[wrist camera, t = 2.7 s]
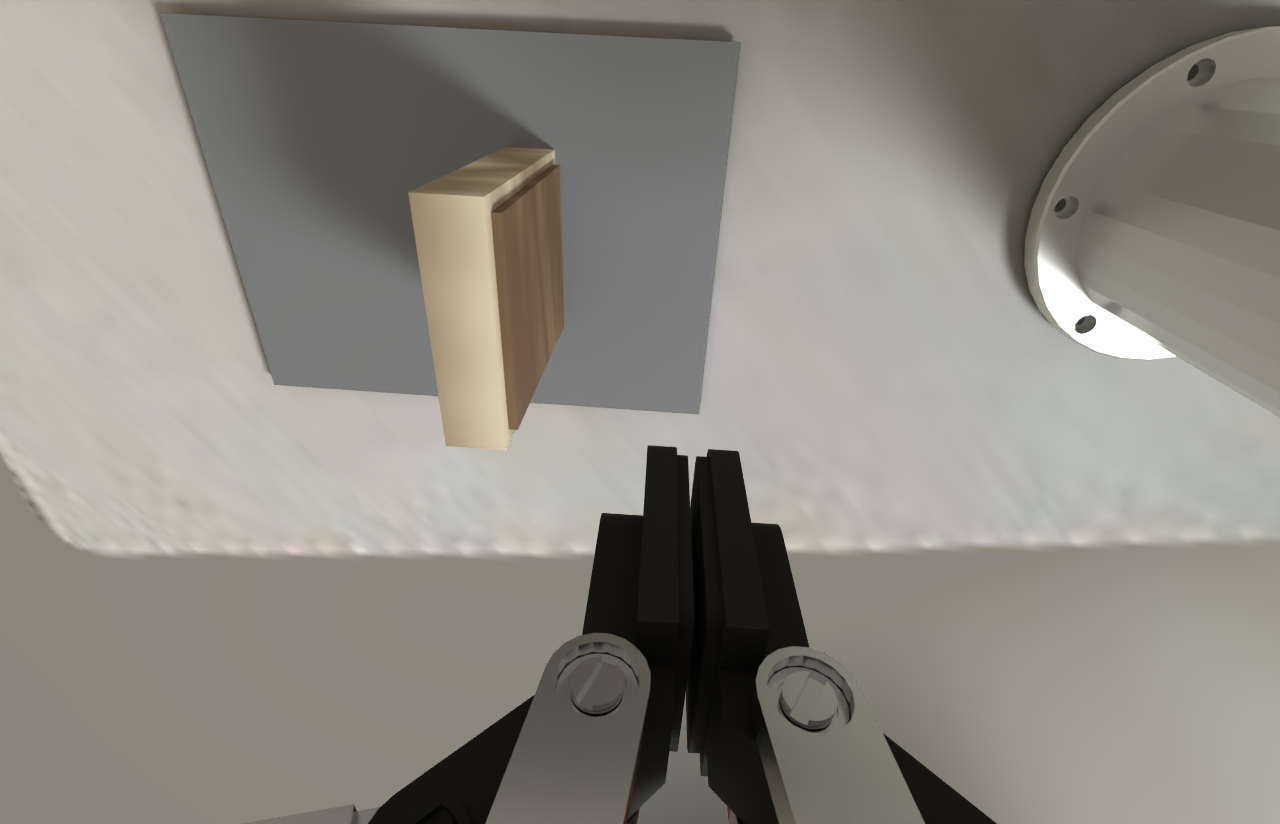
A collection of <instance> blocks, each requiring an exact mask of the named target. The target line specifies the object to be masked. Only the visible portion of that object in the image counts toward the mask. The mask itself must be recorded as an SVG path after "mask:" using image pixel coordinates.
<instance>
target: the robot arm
mask: <svg viewBox="0 0 1280 824" xmlns="http://www.w3.org/2000/svg"><path fill="white" fill-rule="evenodd" d="M1188 72H1189V73H1188ZM1059 201H1060V203H1059V205H1058V206H1057V207H1056V208H1055V206H1056V205H1057V203H1058V202H1059ZM1024 267H1025V271H1026V276H1027V281H1028V286H1029V290H1030V292H1031V294H1032V296H1033V298H1034V301H1035V303H1036V305H1037V307H1038V309H1039V311H1040V312H1041V313H1042V314H1043V315H1044V316H1045V317H1046V319H1047V320H1048V321H1049V322H1050V323H1051V324H1052V325H1053V327H1054V328H1056V329H1057V330H1058V331H1060V332H1061V333H1063V334H1064V335H1065V336H1067V337H1068V338H1069V339H1071V340H1072V341H1074V342H1076V343H1078V344H1080V345H1081V346H1083V347H1085V348H1087V349H1089V350H1091V351H1093V352H1096V353H1100V354H1104V355H1108V356H1112V357H1116V358H1122V359H1137V360H1152V359H1163V358H1173V357H1178V358H1180V359H1182V360H1183V361H1185V362H1187V363H1188V364H1190V365H1192V366H1194V367H1195V368H1197V369H1199V370H1200V371H1202V372H1204V373H1205V374H1207V375H1209V376H1210V377H1212V378H1214V379H1216V380H1217V381H1219V382H1221V383H1222V384H1224V385H1226V386H1227V387H1229V388H1231V389H1233V390H1234V391H1236V392H1238V393H1239V394H1241V395H1243V396H1244V397H1246V398H1248V399H1249V400H1251V401H1253V402H1255V403H1256V404H1258V405H1260V406H1261V407H1263V408H1265V409H1266V410H1268V411H1270V412H1271V413H1273V414H1275V415H1277V416H1278V417H1280V26H1267V27H1261V28H1254V29H1248V30H1242V31H1235V32H1229V33H1226V34H1223V35H1220V36H1217V37H1215V38H1212V39H1209V40H1206V41H1203V42H1200V43H1197V44H1194V45H1191V46H1189V47H1187V48H1185V49H1183V50H1181V51H1179V52H1178V53H1176V54H1174V55H1172V56H1170V57H1168V58H1166V59H1164V60H1162V61H1160V62H1158V63H1156V64H1154V65H1153V66H1151V67H1150V68H1148V69H1147V70H1146V71H1144V72H1143V73H1141V74H1140V75H1139V76H1137V77H1136V78H1134V79H1133V80H1132V81H1130V82H1129V83H1127V84H1126V85H1124V86H1123V87H1122V88H1120V89H1119V90H1118V91H1117V92H1116V93H1115V94H1113V95H1112V96H1111V97H1110V98H1109V99H1108V100H1107V101H1106V102H1105V103H1104V104H1103V105H1102V106H1100V107H1099V108H1098V109H1097V110H1096V111H1095V112H1094V113H1093V114H1092V115H1091V116H1090V117H1089V118H1088V119H1087V120H1086V121H1085V123H1084V124H1083V125H1082V126H1081V127H1080V129H1079V130H1078V131H1077V132H1076V133H1075V135H1074V136H1073V137H1072V138H1071V139H1070V141H1069V142H1068V143H1067V144H1066V146H1065V147H1064V148H1063V150H1062V151H1061V153H1060V155H1059V156H1058V158H1057V159H1056V161H1055V163H1054V164H1053V166H1052V168H1051V169H1050V171H1049V172H1048V174H1047V176H1046V177H1045V179H1044V181H1043V184H1042V186H1041V189H1040V191H1039V193H1038V196H1037V198H1036V201H1035V203H1034V205H1033V208H1032V210H1031V215H1030V219H1029V224H1028V228H1027V232H1026V237H1025V260H1024ZM685 693H686V715H687V749H688V753H700V768H701V776H708V784H709V787H710V788H711V789H712V790H713V791H714V792H715V793H716V794H717V795H718V797H720V799H721V800H722V801H723V802H724V803H725V804H726V805H727V814H728V824H996V823H995V822H994V821H992V820H991V819H990V818H989V817H988V816H986V815H985V814H984V813H983V812H981V811H980V810H979V809H978V808H976V807H975V806H974V805H972V804H971V803H970V802H969V801H968V800H966V799H965V798H964V797H962V796H961V795H960V794H959V793H958V792H956V791H955V790H954V789H952V788H951V787H950V786H949V785H947V784H946V783H945V782H943V781H942V780H941V779H940V778H939V777H937V776H936V775H935V774H934V773H932V772H931V771H930V770H929V769H927V768H926V767H925V766H924V765H922V764H921V763H920V762H919V761H917V760H916V759H915V758H914V757H912V756H911V755H910V754H909V753H907V752H906V751H905V750H904V749H902V748H901V747H900V746H898V745H897V744H896V743H895V742H893V741H892V740H891V739H890V738H888V737H887V736H886V735H885V734H883V733H882V731H881V728H880V726H879V724H878V722H877V720H876V718H875V715H874V713H873V711H872V709H871V707H870V705H869V702H868V700H867V698H866V696H865V694H864V692H863V690H862V688H861V686H860V685H859V683H858V682H857V680H856V678H855V677H854V676H853V674H852V673H851V672H850V671H849V670H848V669H847V668H846V667H845V666H844V665H843V664H842V663H841V662H839V661H838V660H836V659H834V658H833V657H831V656H829V655H828V654H826V653H824V652H821V651H818V650H815V649H812V648H809V644H808V640H807V636H806V632H805V627H804V624H803V619H802V615H801V610H800V607H799V602H798V598H797V594H796V589H795V586H794V581H793V577H792V573H791V568H790V564H789V560H788V556H787V551H786V547H785V543H784V539H783V535H782V531H781V528H780V527H779V525H778V524H763V523H751V519H750V513H749V508H748V502H747V496H746V490H745V485H744V479H743V473H742V467H741V462H740V456H739V452H738V451H728V450H712V449H709V450H708V452H707V457H700V456H697V457H696V462H695V471H694V480H693V488H692V497H691V506H690V495H689V472H688V456H684V455H677V448H676V447H664V446H648V449H647V466H646V482H645V498H644V514H643V516H639V515H624V514H609V513H602V515H601V519H600V525H599V531H598V538H597V544H596V550H595V557H594V563H593V569H592V576H591V582H590V589H589V595H588V602H587V608H586V614H585V621H584V627H583V634H582V635H581V636H578V637H576V638H574V639H572V640H570V641H568V642H566V643H564V644H563V645H562V646H561V647H560V648H559V649H558V650H557V651H556V652H555V653H554V654H553V655H552V657H551V658H550V660H549V662H548V664H547V665H546V667H545V670H544V672H543V675H542V678H541V680H540V683H539V685H538V688H537V691H536V693H535V695H534V696H532V697H531V698H529V699H528V700H527V701H525V702H524V703H522V704H521V705H520V706H518V707H517V708H515V709H514V710H513V711H511V712H510V713H508V714H507V715H506V716H504V717H503V718H502V719H500V720H499V721H497V722H496V723H495V724H493V725H491V726H490V727H489V728H487V729H486V730H484V731H483V732H482V733H480V734H479V735H477V736H476V737H475V738H473V739H472V740H470V741H469V742H468V743H466V744H465V745H463V746H462V747H461V748H459V749H458V750H457V751H455V752H453V753H452V754H451V755H449V756H448V757H447V758H445V759H444V760H442V761H441V762H439V763H438V764H437V765H435V766H434V767H432V768H431V769H430V770H428V771H427V772H425V773H424V774H423V775H421V776H420V777H418V778H417V779H416V780H414V781H413V782H411V783H410V784H409V785H407V786H406V787H404V788H403V789H401V790H400V791H399V792H397V793H396V794H395V795H394V796H392V797H391V798H390V799H389V800H388V801H387V802H386V803H385V804H383V805H382V806H381V807H377V808H372V809H366V810H361V811H357V810H356V807H355V805H354V804H352V805H346V806H341V807H335V808H330V809H324V810H318V811H312V812H307V813H301V814H296V815H290V816H284V817H278V818H273V819H268V820H262V821H256V822H250V823H245V824H638V819H639V814H640V807H641V806H642V805H643V804H644V803H645V802H646V801H647V800H648V799H649V798H650V797H651V796H652V795H653V794H654V793H655V792H656V791H657V790H658V789H659V788H661V787H662V786H663V784H665V781H666V772H667V765H668V756H669V751H674V752H677V751H678V744H679V736H680V730H681V722H682V715H683V707H684V700H685Z"/></svg>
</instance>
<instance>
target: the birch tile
mask: <svg viewBox="0 0 1280 824" xmlns="http://www.w3.org/2000/svg"><path fill="white" fill-rule="evenodd" d="M408 194H409V200H410V207H411V214H412V220H413V227H414V234H415V241H416V247H417V254H418V261H419V268H420V274H421V281H422V288H423V294H424V301H425V308H426V315H427V321H428V328H429V335H430V342H431V348H432V355H433V362H434V368H435V375H436V382H437V389H438V395H439V402H440V409H441V415H442V422H443V429H444V436H445V442H446V446H454V447H468V448H482V449H496V450H506V449H507V447H508V444H509V442H510V440H511V438H512V436H513V433H514V431H515V430H518V428H519V426H520V423H521V421H522V419H523V417H524V415H525V412H526V410H527V408H528V406H529V403H530V401H531V399H532V397H533V395H534V392H535V390H536V388H537V386H538V383H539V381H540V379H541V377H542V375H543V372H544V370H545V368H546V366H547V363H548V361H549V359H550V357H551V355H552V352H553V350H554V348H555V346H556V343H557V341H558V339H559V337H560V335H561V332H562V330H563V328H564V301H563V257H562V213H561V169H560V165H555V149H538V148H520V147H505V148H502V149H500V150H498V151H496V152H494V153H492V154H490V155H487V156H485V157H483V158H481V159H479V160H477V161H475V162H472V163H470V164H468V165H466V166H464V167H462V168H460V169H457V170H455V171H453V172H451V173H449V174H447V175H445V176H442V177H440V178H438V179H436V180H434V181H432V182H430V183H427V184H425V185H423V186H421V187H419V188H417V189H415V190H413V191H410V192H408Z"/></svg>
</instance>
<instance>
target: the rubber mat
mask: <svg viewBox="0 0 1280 824" xmlns="http://www.w3.org/2000/svg"><path fill="white" fill-rule="evenodd" d="M160 15H161V18H162V21H163V25H164V28H165V31H166V34H167V38H168V41H169V44H170V47H171V51H172V54H173V57H174V60H175V64H176V67H177V70H178V73H179V77H180V80H181V83H182V86H183V90H184V93H185V96H186V99H187V103H188V106H189V109H190V112H191V116H192V119H193V122H194V125H195V129H196V132H197V135H198V138H199V141H200V145H201V148H202V151H203V154H204V158H205V161H206V164H207V167H208V171H209V174H210V177H211V180H212V184H213V187H214V190H215V193H216V197H217V200H218V203H219V206H220V210H221V213H222V216H223V219H224V223H225V226H226V229H227V232H228V236H229V239H230V242H231V245H232V249H233V252H234V255H235V258H236V262H237V265H238V268H239V271H240V275H241V278H242V281H243V284H244V288H245V291H246V294H247V297H248V301H249V304H250V307H251V310H252V314H253V317H254V320H255V323H256V327H257V330H258V333H259V336H260V340H261V343H262V346H263V349H264V353H265V356H266V359H267V362H268V366H269V369H270V372H271V375H272V378H273V382H274V385H286V386H300V387H314V388H329V389H343V390H357V391H372V392H386V393H400V394H415V395H429V396H439V395H438V389H437V382H436V375H435V368H434V362H433V355H432V348H431V342H430V335H429V328H428V321H427V315H426V308H425V301H424V294H423V288H422V281H421V274H420V268H419V261H418V254H417V247H416V241H415V234H414V227H413V220H412V214H411V207H410V200H409V194H408V192H410V191H413V190H415V189H417V188H419V187H421V186H423V185H425V184H427V183H430V182H432V181H434V180H436V179H438V178H440V177H442V176H445V175H447V174H449V173H451V172H453V171H455V170H457V169H460V168H462V167H464V166H466V165H468V164H470V163H472V162H475V161H477V160H479V159H481V158H483V157H485V156H487V155H490V154H492V153H494V152H496V151H498V150H500V149H502V148H505V147H520V148H538V149H555V165H560V169H561V213H562V257H563V301H564V328H563V330H562V332H561V335H560V337H559V339H558V341H557V343H556V346H555V348H554V350H553V352H552V355H551V357H550V359H549V361H548V363H547V366H546V368H545V370H544V372H543V375H542V377H541V379H540V381H539V383H538V386H537V388H536V390H535V392H534V395H533V397H532V399H531V401H530V403H544V404H558V405H573V406H587V407H601V408H616V409H630V410H644V411H659V412H673V413H688V414H699V409H700V400H701V391H702V382H703V373H704V364H705V355H706V346H707V337H708V328H709V319H710V310H711V301H712V292H713V283H714V274H715V265H716V256H717V247H718V238H719V229H720V220H721V211H722V202H723V193H724V184H725V175H726V166H727V157H728V149H729V140H730V131H731V122H732V113H733V104H734V95H735V86H736V77H737V68H738V59H739V50H740V42H726V41H706V40H686V39H666V38H647V37H627V36H607V35H587V34H567V33H548V32H528V31H508V30H488V29H468V28H449V27H429V26H409V25H389V24H369V23H350V22H330V21H310V20H290V19H270V18H251V17H231V16H211V15H191V14H171V13H160Z"/></svg>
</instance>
